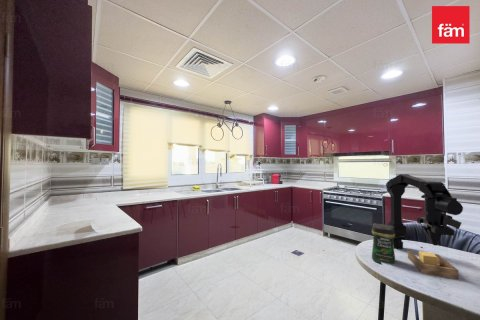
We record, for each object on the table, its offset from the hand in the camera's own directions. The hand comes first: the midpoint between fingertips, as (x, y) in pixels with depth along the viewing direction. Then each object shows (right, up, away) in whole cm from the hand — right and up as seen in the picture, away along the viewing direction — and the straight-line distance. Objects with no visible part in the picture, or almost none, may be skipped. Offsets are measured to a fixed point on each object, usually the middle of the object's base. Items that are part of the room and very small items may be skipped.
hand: (434, 244), depth 89 cm
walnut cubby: (+2, -13, +4) cm, 14 cm away
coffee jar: (-15, -14, +12) cm, 23 cm away
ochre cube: (+3, -12, +6) cm, 14 cm away
